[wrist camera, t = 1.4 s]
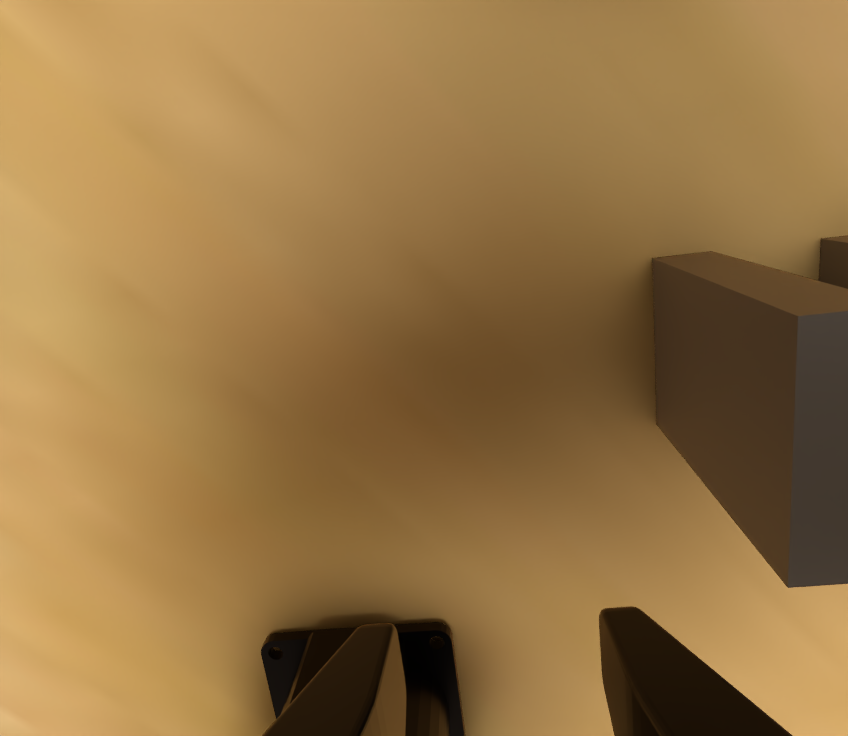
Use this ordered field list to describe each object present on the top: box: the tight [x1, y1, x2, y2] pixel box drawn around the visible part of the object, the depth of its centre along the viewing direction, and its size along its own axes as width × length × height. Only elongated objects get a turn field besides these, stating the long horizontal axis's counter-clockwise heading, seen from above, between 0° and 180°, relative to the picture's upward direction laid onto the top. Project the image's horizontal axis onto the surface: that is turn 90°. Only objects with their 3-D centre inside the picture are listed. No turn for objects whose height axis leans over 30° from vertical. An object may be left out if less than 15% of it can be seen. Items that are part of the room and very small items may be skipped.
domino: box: [652, 251, 848, 588], centre depth 14 cm, size 5×2×8 cm, turn 7°
